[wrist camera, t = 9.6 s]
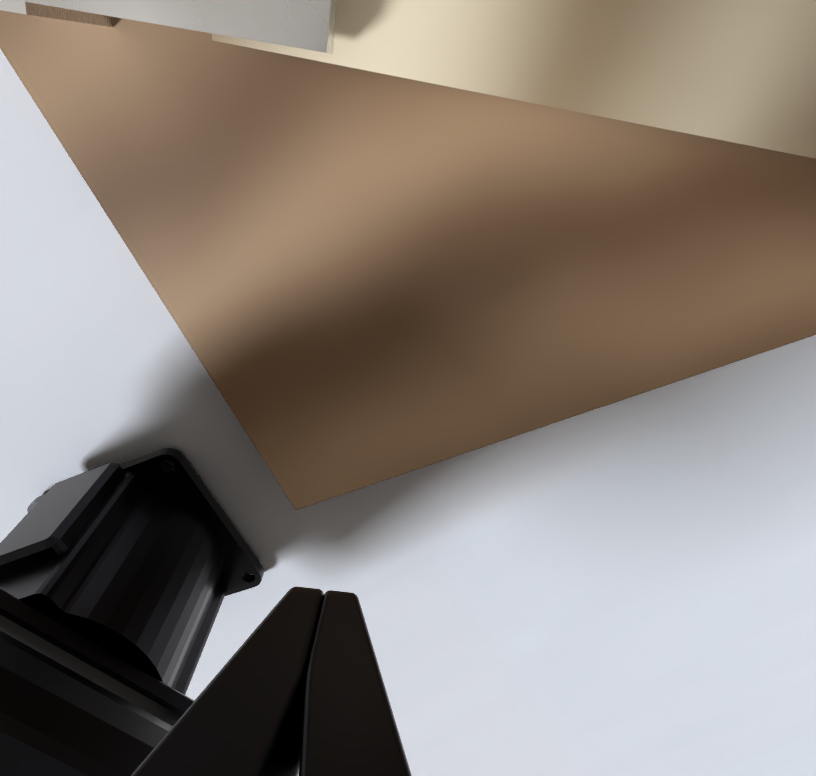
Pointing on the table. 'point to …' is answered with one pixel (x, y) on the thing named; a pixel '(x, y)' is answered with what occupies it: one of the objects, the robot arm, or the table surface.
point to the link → (603, 58)
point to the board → (415, 243)
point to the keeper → (205, 17)
